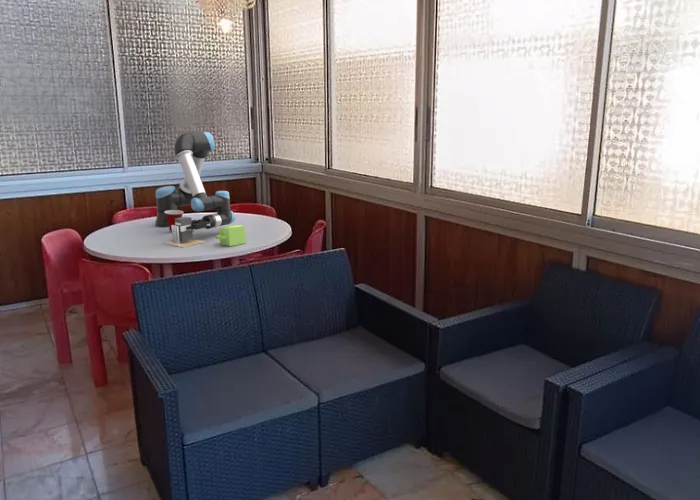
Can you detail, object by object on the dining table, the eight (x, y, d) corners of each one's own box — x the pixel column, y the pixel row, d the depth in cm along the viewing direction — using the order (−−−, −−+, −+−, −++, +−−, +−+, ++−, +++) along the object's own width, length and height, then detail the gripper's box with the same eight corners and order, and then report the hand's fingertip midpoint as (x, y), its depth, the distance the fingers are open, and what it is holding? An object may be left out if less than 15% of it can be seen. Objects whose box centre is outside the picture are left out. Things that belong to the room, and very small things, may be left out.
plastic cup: (179, 233, 340) (178, 213, 337) (162, 233, 342) (160, 212, 340) (188, 229, 351) (186, 209, 348) (171, 229, 353) (169, 209, 350)
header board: (163, 243, 316) (162, 224, 313) (186, 238, 327) (184, 220, 325) (183, 247, 307) (181, 228, 304) (205, 241, 318) (204, 223, 316)
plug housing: (176, 240, 315) (174, 218, 312) (187, 238, 321) (185, 216, 318) (182, 241, 312) (180, 219, 310) (193, 239, 318) (191, 217, 315)
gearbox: (240, 240, 324) (239, 223, 322) (252, 241, 318) (251, 224, 316) (213, 245, 311) (212, 227, 309) (225, 247, 304) (224, 229, 302)
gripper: (222, 229, 326) (188, 237, 307) (201, 226, 336) (167, 233, 318) (221, 216, 324) (187, 223, 306) (200, 213, 334) (165, 220, 316)
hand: (177, 228), depth 312 cm, fingers closed on plug housing, 5 cm apart
